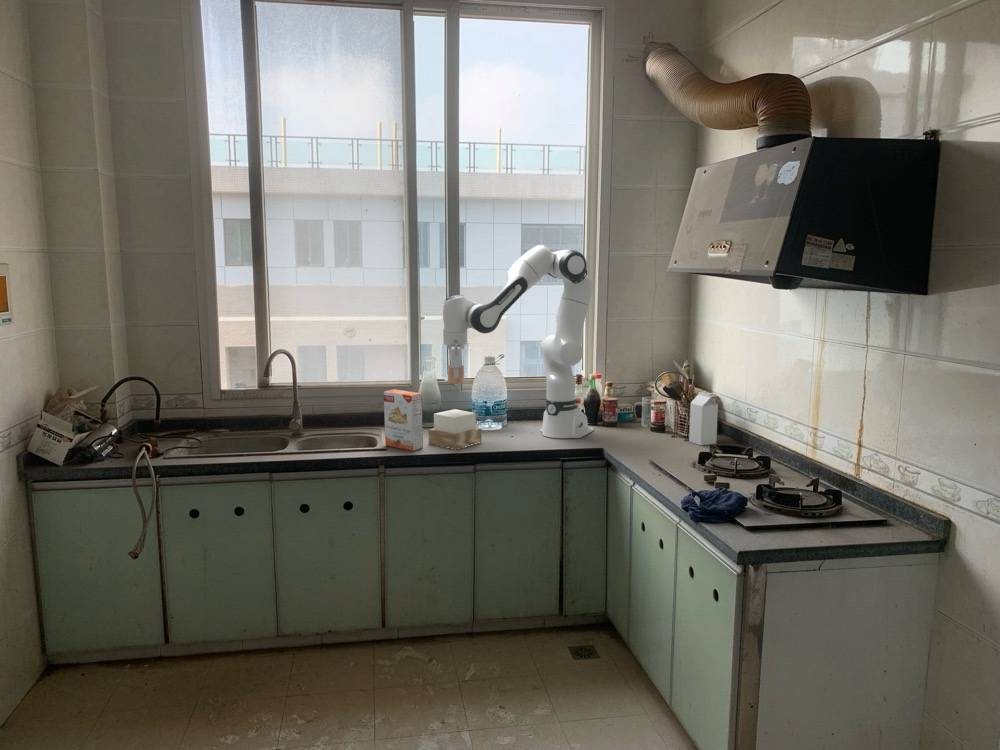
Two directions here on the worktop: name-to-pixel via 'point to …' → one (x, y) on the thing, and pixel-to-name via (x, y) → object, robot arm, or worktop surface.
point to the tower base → (454, 438)
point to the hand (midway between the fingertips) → (455, 376)
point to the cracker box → (403, 419)
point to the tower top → (454, 421)
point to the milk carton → (703, 420)
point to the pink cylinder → (451, 375)
